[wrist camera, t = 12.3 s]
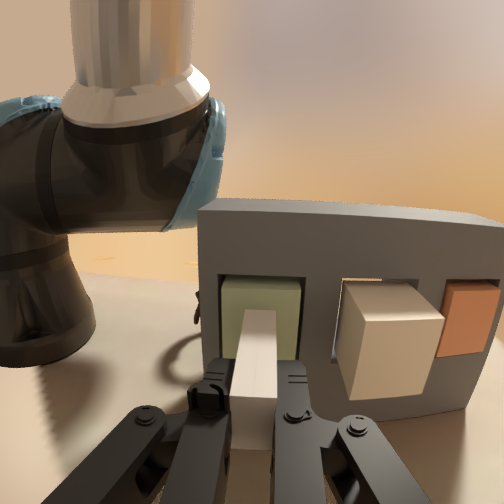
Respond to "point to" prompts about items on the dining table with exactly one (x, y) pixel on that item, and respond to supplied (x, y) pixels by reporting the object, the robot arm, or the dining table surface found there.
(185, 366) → the dining table surface
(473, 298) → the terracotta button
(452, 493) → the dining table surface
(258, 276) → the sage button
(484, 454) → the dining table surface
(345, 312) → the ivory button
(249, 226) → the console
